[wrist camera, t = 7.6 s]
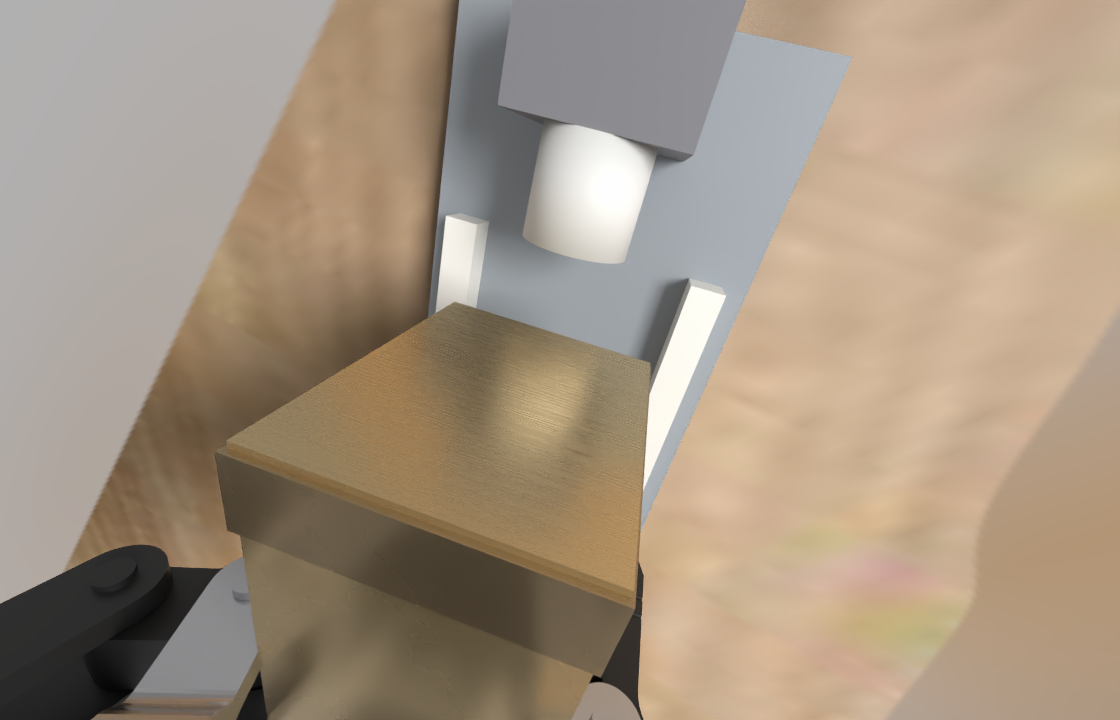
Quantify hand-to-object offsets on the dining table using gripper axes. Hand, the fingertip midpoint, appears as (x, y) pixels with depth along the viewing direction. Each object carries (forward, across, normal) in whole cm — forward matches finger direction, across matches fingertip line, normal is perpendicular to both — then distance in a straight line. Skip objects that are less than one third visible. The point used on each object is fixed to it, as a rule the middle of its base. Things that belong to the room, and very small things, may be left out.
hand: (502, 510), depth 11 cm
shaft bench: (+6, 0, 0) cm, 6 cm away
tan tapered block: (+1, 0, 0) cm, 1 cm away
